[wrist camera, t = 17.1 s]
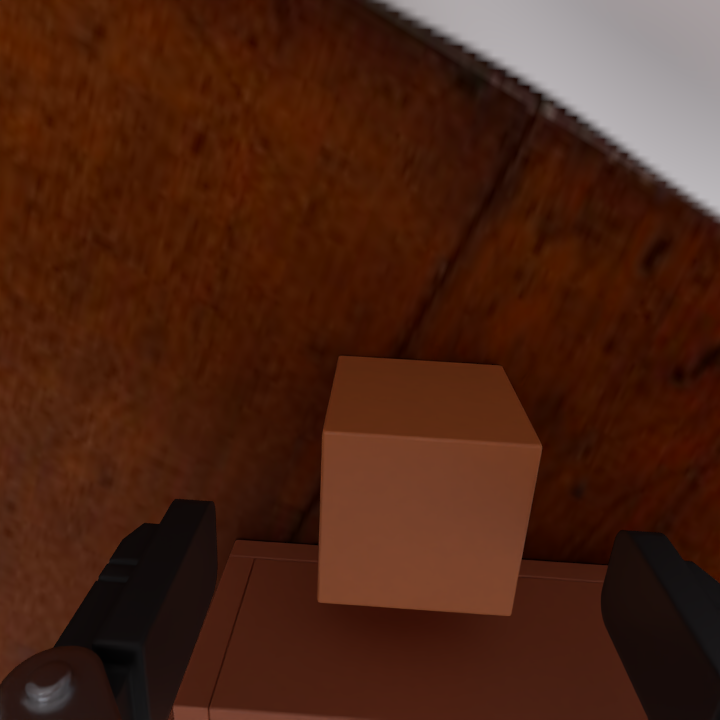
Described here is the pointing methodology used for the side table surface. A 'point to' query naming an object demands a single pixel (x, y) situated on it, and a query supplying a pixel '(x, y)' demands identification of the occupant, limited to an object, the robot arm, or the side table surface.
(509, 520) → the block
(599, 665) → the terracotta bin
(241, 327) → the side table surface
